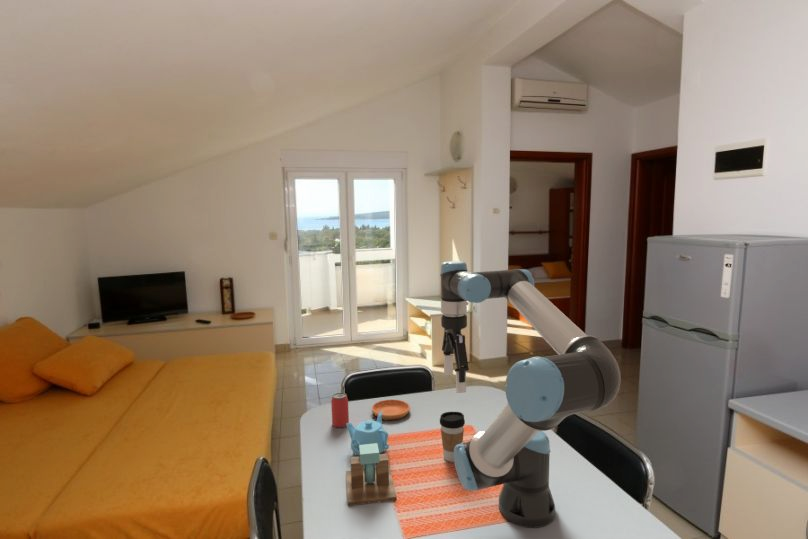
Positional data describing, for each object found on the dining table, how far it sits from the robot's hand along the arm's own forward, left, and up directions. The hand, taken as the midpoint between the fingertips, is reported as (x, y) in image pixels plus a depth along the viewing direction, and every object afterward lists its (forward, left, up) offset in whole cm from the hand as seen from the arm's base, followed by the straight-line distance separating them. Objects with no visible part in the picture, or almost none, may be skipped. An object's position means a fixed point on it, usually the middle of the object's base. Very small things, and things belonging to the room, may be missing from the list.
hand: (454, 383), depth 134 cm
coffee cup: (+14, -3, -32) cm, 35 cm away
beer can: (+46, +34, -32) cm, 65 cm away
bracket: (+3, +26, -32) cm, 41 cm away
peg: (+3, +26, -30) cm, 40 cm away
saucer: (+52, +13, -32) cm, 63 cm away
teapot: (+23, +25, -32) cm, 47 cm away
